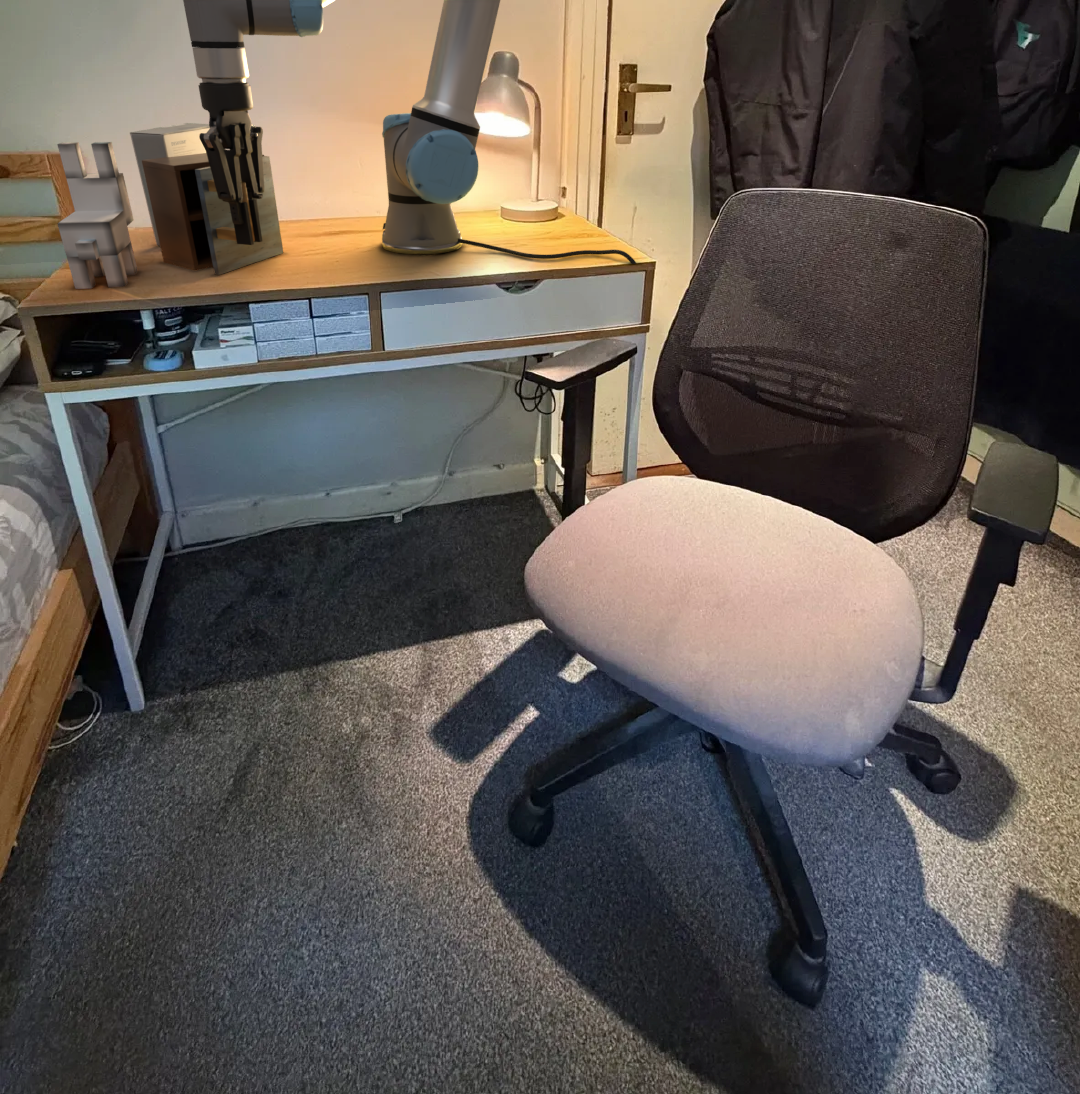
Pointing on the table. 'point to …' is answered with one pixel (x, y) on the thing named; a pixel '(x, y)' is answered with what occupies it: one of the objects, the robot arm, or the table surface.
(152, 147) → the hard drive box
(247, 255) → the cupboard door
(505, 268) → the table surface
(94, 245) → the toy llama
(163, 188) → the cupboard
